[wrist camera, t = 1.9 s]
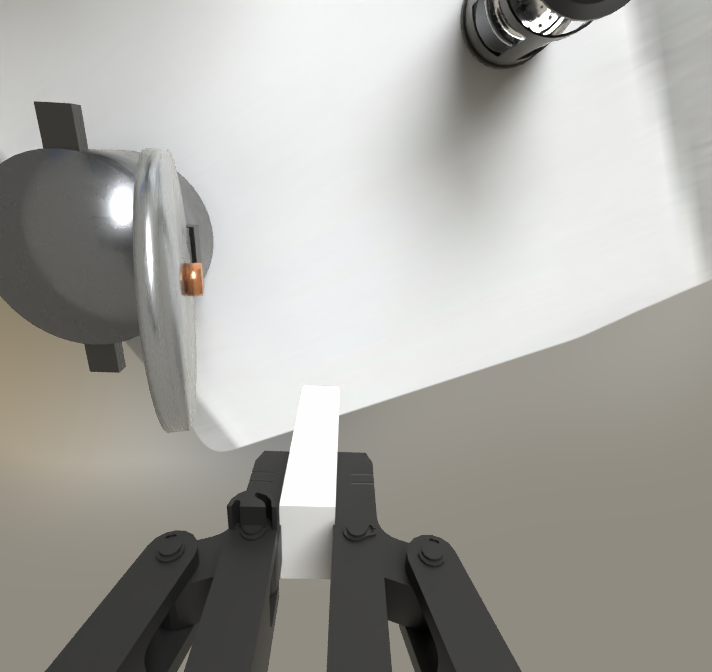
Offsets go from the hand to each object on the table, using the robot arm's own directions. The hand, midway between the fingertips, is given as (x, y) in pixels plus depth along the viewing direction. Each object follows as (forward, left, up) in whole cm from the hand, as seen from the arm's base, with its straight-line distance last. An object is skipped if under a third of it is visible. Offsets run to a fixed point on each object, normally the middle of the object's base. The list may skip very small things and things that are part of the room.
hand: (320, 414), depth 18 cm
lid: (0, -12, -15) cm, 19 cm away
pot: (0, -24, -37) cm, 44 cm away
